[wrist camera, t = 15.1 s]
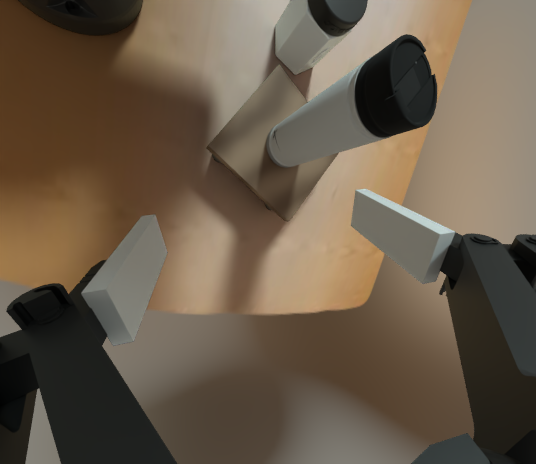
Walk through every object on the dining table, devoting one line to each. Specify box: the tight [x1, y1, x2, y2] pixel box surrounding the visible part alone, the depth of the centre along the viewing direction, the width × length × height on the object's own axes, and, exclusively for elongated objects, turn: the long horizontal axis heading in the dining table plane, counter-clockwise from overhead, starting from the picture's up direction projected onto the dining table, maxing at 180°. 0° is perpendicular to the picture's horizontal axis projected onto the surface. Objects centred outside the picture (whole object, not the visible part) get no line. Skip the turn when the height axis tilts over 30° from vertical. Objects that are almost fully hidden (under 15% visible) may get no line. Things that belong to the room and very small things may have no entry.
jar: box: [275, 0, 368, 75], centre depth 33 cm, size 9×8×12 cm
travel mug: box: [266, 34, 437, 168], centre depth 24 cm, size 6×7×20 cm
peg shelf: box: [207, 64, 338, 221], centre depth 36 cm, size 16×16×6 cm
